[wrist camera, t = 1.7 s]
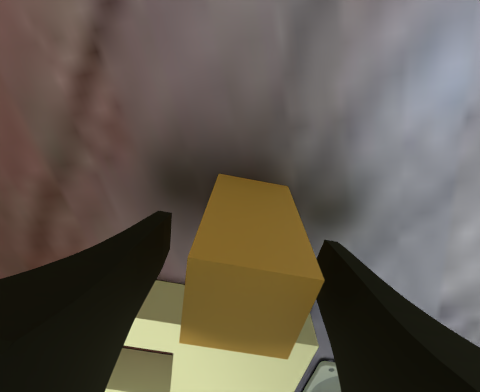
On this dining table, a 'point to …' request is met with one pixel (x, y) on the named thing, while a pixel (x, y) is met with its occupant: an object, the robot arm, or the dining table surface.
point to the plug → (249, 271)
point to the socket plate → (198, 356)
